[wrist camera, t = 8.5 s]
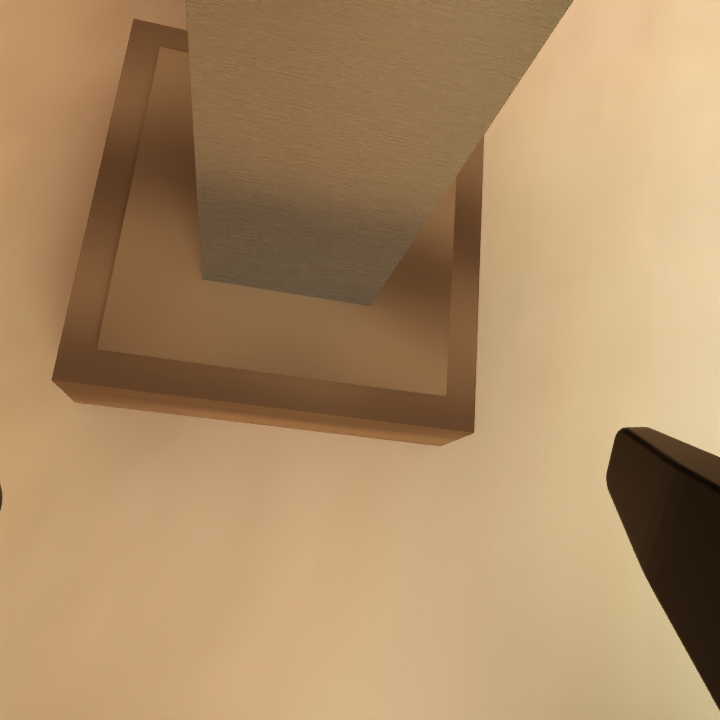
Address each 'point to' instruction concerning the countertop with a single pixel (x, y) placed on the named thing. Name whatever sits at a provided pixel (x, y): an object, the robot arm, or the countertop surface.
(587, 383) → the countertop surface
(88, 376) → the stand
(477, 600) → the countertop surface
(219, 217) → the housing
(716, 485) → the robot arm
